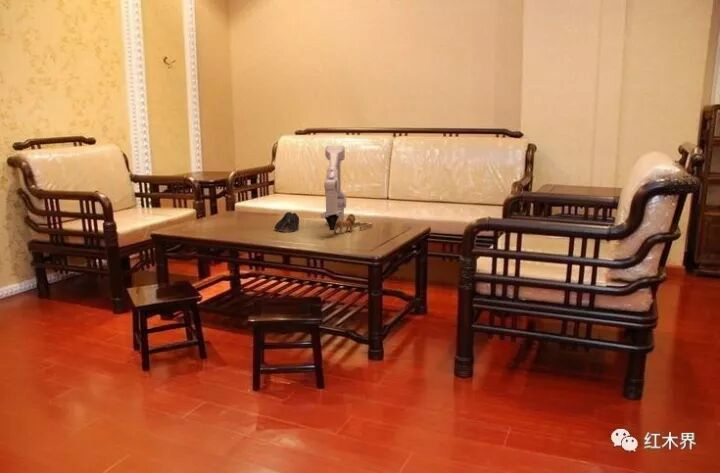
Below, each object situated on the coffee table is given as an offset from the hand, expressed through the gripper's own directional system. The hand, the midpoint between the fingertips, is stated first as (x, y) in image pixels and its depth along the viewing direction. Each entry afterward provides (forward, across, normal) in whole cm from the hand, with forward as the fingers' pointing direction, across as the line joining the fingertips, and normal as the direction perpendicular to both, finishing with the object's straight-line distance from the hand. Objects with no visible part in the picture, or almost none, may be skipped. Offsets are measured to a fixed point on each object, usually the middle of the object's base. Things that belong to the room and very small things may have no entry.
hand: (332, 229), depth 293 cm
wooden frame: (+3, +22, 0) cm, 22 cm away
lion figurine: (+3, +10, 0) cm, 11 cm away
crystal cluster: (+3, -3, +28) cm, 29 cm away
